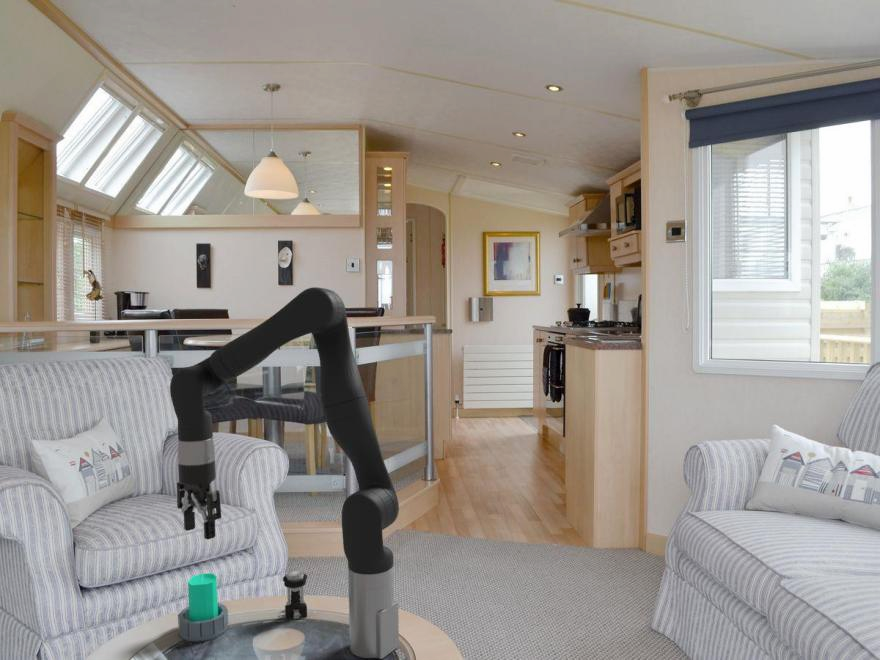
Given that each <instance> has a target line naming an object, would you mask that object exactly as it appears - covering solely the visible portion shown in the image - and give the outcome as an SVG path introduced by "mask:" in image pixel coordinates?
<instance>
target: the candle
mask: <svg viewBox="0 0 880 660" xmlns="http://www.w3.org/2000/svg"><path fill="white" fill-rule="evenodd" d="M217 580H218V579H217V576H216V574H214V573H212V572H211V573H210V572H209V573H203V571H202V572H201V573H198V574H196V575H193V576H192V577H191V578H190V579H189V580H188V581H187V585H188V586H187V592H188V607H189V620H190V621H204V620H209V619H212V618H214V617H216V616H218V603H219V602H218V581H217Z"/></svg>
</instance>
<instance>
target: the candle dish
mask: <svg viewBox="0 0 880 660" xmlns="http://www.w3.org/2000/svg"><path fill="white" fill-rule="evenodd" d="M217 603H218V616H216V617H214V618H212V619H209V620H204V621H190V620H189V606H188V607H185V608H183V609H182V610H181V611H179V613H178V614H177V624H178V625H177V626H178V627H177V628H178V635H180V636H179V638H180V637H181V638H182V640H183V639H184V641H186V642H193V643H199V642H201V643H202V642H206V641H210V640H214V639H217V638H218V637H220V636H222V635H224V634H225V633H226V632H227V630H228V624H229V616H228V614H229V613H228V612H229V611H228V608H227V606H226V605H225V604H223V603H220V602H217ZM181 638H180V639H181Z"/></svg>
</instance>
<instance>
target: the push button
mask: <svg viewBox="0 0 880 660" xmlns="http://www.w3.org/2000/svg"><path fill="white" fill-rule="evenodd" d="M307 579H308V574H306V573H305V572H303V570H300V569H293V570H289V571H287V572H286V574H285V575H284V576H283V577H282V581H283V585H284V587H285V588H286V590H287V591H286V594H287V596H286V597H287V601H286V604H285V605H284V610H283V609H282V610H279V611H277V613H278V614H279V615H277V617H278V618H282V617H283V618H284V617H285V619H286V620H290V619H299V618H307V617H308V606H307V602H306V600H305V598H304V592H305V591H304V586H305V585H306V583H307Z"/></svg>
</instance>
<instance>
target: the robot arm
mask: <svg viewBox="0 0 880 660" xmlns="http://www.w3.org/2000/svg"><path fill="white" fill-rule="evenodd" d="M308 334H312V338H313V340H314V343H315V346H316V350H317V353H318V357H319V364H320V365H319V368H320V370H319V371H320V374H319V377H320V378H319V390H320V391H319V393H320V403H321V406H322V411H323V415H324V419H325V423H326V426H327V429H328V431H329V433H330V435H331V437H332V438H333V440H334V441H335V443H336V444H337V446H339V448H340V449H341V450H342V452H343V453H344V454H345V455H346V457H347V458H348V459H349V461H350V463H351V466H352V467H353V471H354V473H355V478H356V481H357V484H358V490H357V491H355V492H353V493H352V494H350V495H349V496H348V497H346V499H345V500H344V502H343V504H342V508H341V509H342V510H341V532H342V544H343V552H344V555H345V558H346V560H347V573H348V575H347V576H348V577H347V578H348V582H347V583H348V587H347V588H348V618H349V619H348V620H349V628H348V629H349V650H350V653H352V654H353V655H354V656H356V657H359V658H364V659H379V660H381V659H384V658H385V657H386V656H388V655H389V654H391V653H393V651H395V650H397V649H398V648H399V647H400V643H399V642H400V640H399V639H400V638H399V637H400V634H399V633H400V631H399V629H400V628H399V627H400V626H399V622H400V621H399V602H398V601H395V591H394V590H395V589H394V588H395V587H394V586H395V583H394V579H395V578H394V575H395V574H394V553H393V550H391V549H390V547H388V546H384V539H383V530H385V529H387V528H389V527H390V526H392V524H394V522H395V521H396V520H397V518H398V516H399V510H400V505H399V500H398V495H397V492H396V490H395V487H394V484H393V481H392V479H391V476H390V474H389V471H388V468H387V466H386V464H385V460H384V457H383V455H382V451H381V446H380V444H379V440H378V436H377V433H376V429H375V425H374V422H373V418H372V413H371V408H370V406H369V401H368V397H367V393H366V390H365V387H364V384H363V380H362V377H361V374H360V371H359V367H358V364H357V360H356V358H355V354H354V351H353V347H352V343H351V337H350V329H349V323H348V317H347V309H346V306H345V303H344V300H343V299H342V297H341V296H340V295H339V294H338V293H336V292H335V291H333V290H331V289H328V288H325V287H324V288H323V287H309V288H306V289H304V290H303V291H301V292H300V293H299V294H297V295H296V296H295V297H294V298H292V300H290V301H289V302H288V303H287V304H285V305H284V306H283V307H282V308H281V309H280V310H278V311H277V312H275V313H274V314H273V315H271V316H270V317H269V318H268V319H266V320H265V321H263V322H262V323H260V324H258V325H257V326H256V327H254V328H252V329H250V330H249V331H247V332H245V333H243V334H242V335H240V336H238V337H236V338H235V339H232V340H231V341H229V342H228V343H225V345H222V346H221V347H219V348H217V349H216V350H214V351H213V352H212V354H210V356H208V357H207V358H205V359H203V360H201V361H200V362H198V363H196V364H194V365H190V366H187V367H183V368H180V369H178V370H177V371H175V373H174V374H173V375H172V377H171V380H170V385H169V393H170V398H171V399H170V400H171V402H172V407H173V410H174V413H175V416H176V420H177V438H178V440H177V443H178V444H177V467H178V468H177V470H178V471H177V472H178V473H177V474H178V482H176V507H177V509H179V510H180V509H181V510H180V511H181V513H182V514H183V528H184V530H185V531H187V532H188V531H191V530H194V529H195V528H196V517H195V514H196V513H195V509H196V510H197V513H198V514H200V515H201V517H202V520H203V538H204V539H205V540H211V539H215V537H216V520H220V519H221V518H222V508H221V493H220V491H219V490H218V489H217V490H212V488H211V484H212V482H214V481H215V480H216V451H215V442H214V434H213V433H214V431H213V427H214V426H213V418H212V417H213V416H212V413H211V412H210V411H208V410H207V409H205V403H204V397H206V396H208V395H209V394H211V393H213V392H215V391H217V390H218V389H219V388H221V387H222V386H223V385H225V384H226V383H228V382H230V381H231V380H234V379H236V378H237V377H239V376H241V375H243V374H244V373H247V372H248V371H249V370H252V369H253V368H254V367H256V366H257V365H258V366H259V365H260V363H262V362H263V361H265V360H266V359H267V358H268V357H269V356H271V355H272V354H273V353H274V352H275V351H277V350H278V349H280V348H282V347H283V346H284V345H286V344H288V343H289V342H291V341H294V340H296V339H299V338H300V337H301V338H302V337H304V336H306V335H308Z"/></svg>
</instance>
